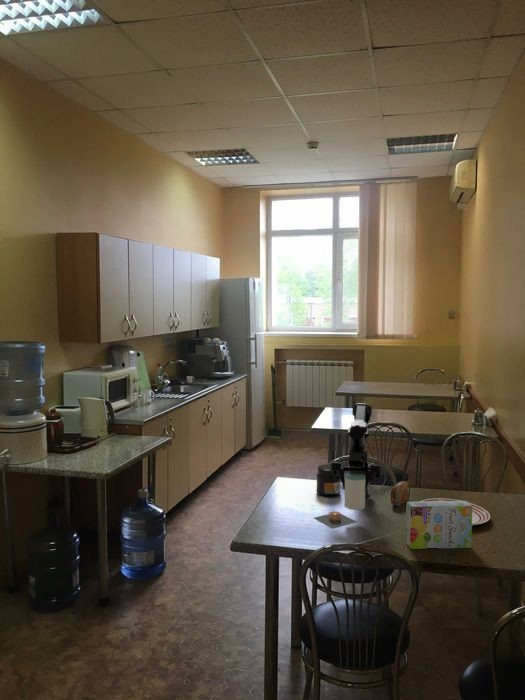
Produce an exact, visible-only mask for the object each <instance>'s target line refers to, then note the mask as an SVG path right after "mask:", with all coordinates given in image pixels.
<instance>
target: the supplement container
mask: <svg viewBox="0 0 525 700" xmlns="http://www.w3.org/2000/svg"><path fill="white" fill-rule="evenodd" d="M341 483H342V482H341V479H340V477H337V475H333V474H332V471H331V463H329V464H328V463H327V464H320V465H318V466H317V473H316V489H315V490H316V494H317V495H318V496H320V497H322V496H323V497H324V498H335V497H338V496H340V494H341Z"/></svg>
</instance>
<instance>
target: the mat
mask: <svg viewBox="0 0 525 700" xmlns="http://www.w3.org/2000/svg"><path fill="white" fill-rule="evenodd" d="M313 519H314V520H316V521H317V522H319V523H320V524H321V523H322V524H323V525H325V526H327V527H329V528H331V529H332V530H333V529H337V528H340V527H343V526H347V525H348V526H349V525H352V524H353V525H354V524H356V523H358V521H356V520H354V519H352V518H350V517H348V516H346V515H345V514H342V513H341V520H340V521H337V522H334V521H331V520H329V513H327V514H324V515H319V516H315V517H313Z"/></svg>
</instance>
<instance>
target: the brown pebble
mask: <svg viewBox="0 0 525 700" xmlns="http://www.w3.org/2000/svg"><path fill="white" fill-rule="evenodd" d="M328 514H329V520H331V521H334V522H337V521H340V520H341V514H342V513H341V512H339V511H336V510H335V511H329V513H328Z"/></svg>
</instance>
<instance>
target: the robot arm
mask: <svg viewBox="0 0 525 700" xmlns="http://www.w3.org/2000/svg"><path fill="white" fill-rule="evenodd" d="M351 413H352V416H353V420H354V421H352V422H351V423H350V424H351V425H350V427H349V428H348V430H347V436H348V437H349V443H350V444H349V445H350V446H349V455H348V465H345V466H344V465H343V463H342V461H341V462H340V461H332V462H331V463H330V464H331V471H332V474H333V475H337V477H340V479H341V482H340V483H341V485H342V489H343V490H344V491H345V472H347V473H348V472H359V473H363V474H365V475H366V478H365V498H366V497H369V496H371V494H370V493H369V486H370V484H371V483H372V481H373V480H376V479H380V478H382V466H381V465H380V464H370V467H369V463H368V462H367V461H368V454H369V451H366V449H367V438H369V437H370V435H371V434H370V433H371V431H370V429H369V428H368V425H369V424H370V422H371V418H372V416H373V406H371V405H369V404H368V403H366V402H363V403H362V402H358V403H355V404H354V405H352V412H351Z"/></svg>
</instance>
